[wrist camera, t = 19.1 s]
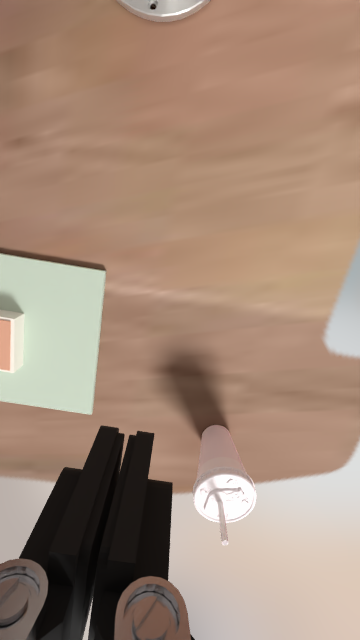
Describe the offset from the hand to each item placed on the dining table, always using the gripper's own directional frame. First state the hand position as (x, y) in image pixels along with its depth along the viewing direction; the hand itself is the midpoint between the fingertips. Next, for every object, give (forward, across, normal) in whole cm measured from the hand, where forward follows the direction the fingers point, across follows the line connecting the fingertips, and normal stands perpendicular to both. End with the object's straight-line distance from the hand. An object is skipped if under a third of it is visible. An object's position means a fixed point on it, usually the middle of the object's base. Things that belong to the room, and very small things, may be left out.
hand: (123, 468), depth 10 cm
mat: (+27, +17, +8) cm, 33 cm away
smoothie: (+27, -9, +18) cm, 34 cm away
